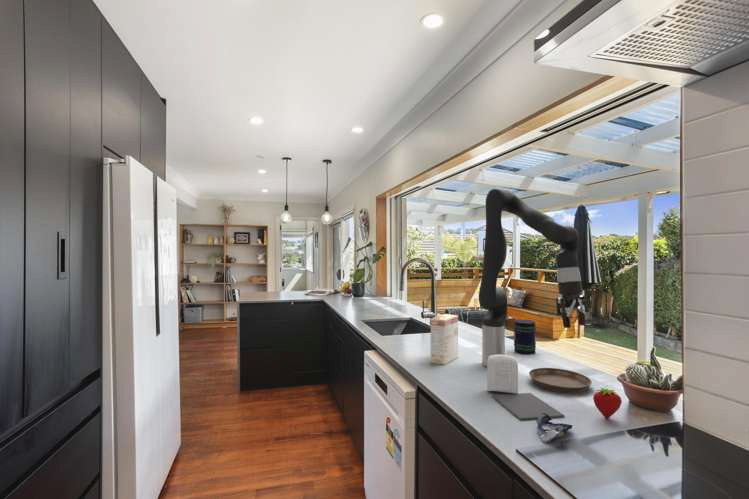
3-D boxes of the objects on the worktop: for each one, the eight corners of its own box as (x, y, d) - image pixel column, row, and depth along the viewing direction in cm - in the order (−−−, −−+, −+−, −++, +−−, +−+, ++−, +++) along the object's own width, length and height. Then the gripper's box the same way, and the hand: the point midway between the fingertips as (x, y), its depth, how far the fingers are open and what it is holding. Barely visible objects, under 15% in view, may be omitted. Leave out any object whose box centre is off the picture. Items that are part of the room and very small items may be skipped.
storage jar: (516, 354, 181) (516, 322, 181) (512, 349, 190) (512, 319, 190) (538, 355, 179) (538, 323, 179) (533, 349, 189) (533, 319, 189)
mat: (491, 396, 127) (491, 395, 127) (530, 394, 130) (530, 392, 130) (520, 420, 110) (520, 418, 110) (564, 417, 112) (564, 415, 112)
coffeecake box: (444, 354, 179) (444, 313, 180) (458, 357, 175) (458, 315, 175) (429, 362, 167) (429, 318, 167) (444, 365, 163) (444, 319, 163)
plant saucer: (605, 393, 132) (605, 383, 132) (553, 398, 127) (553, 388, 127) (564, 374, 152) (564, 366, 152) (517, 378, 147) (517, 369, 147)
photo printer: (518, 392, 131) (517, 355, 134) (518, 393, 127) (517, 355, 130) (487, 389, 134) (487, 353, 137) (486, 390, 130) (486, 353, 133)
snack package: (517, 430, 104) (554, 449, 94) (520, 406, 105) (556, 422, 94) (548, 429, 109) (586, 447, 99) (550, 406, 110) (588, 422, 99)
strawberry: (626, 423, 108) (626, 387, 108) (599, 422, 108) (599, 387, 108) (614, 414, 114) (614, 380, 114) (588, 413, 114) (588, 380, 114)
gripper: (571, 280, 143) (577, 324, 141) (546, 282, 136) (552, 328, 134) (591, 279, 136) (597, 324, 134) (566, 280, 129) (572, 329, 127)
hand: (574, 326), depth 134 cm, fingers open, 8 cm apart
